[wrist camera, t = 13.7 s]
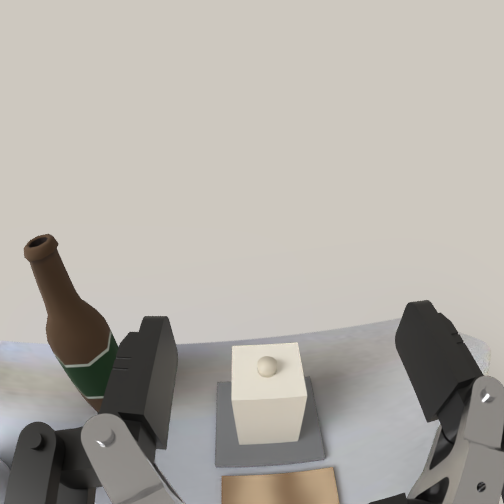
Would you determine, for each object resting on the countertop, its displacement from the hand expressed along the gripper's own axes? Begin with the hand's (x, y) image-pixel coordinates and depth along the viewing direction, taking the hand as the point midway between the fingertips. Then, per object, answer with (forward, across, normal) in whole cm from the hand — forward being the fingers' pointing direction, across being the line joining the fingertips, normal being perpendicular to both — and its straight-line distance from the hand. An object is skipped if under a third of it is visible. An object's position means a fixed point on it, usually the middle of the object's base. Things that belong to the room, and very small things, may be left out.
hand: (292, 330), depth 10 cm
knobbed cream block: (+11, 0, +27) cm, 29 cm away
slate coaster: (+11, 0, +28) cm, 30 cm away
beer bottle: (+14, +20, +28) cm, 38 cm away
